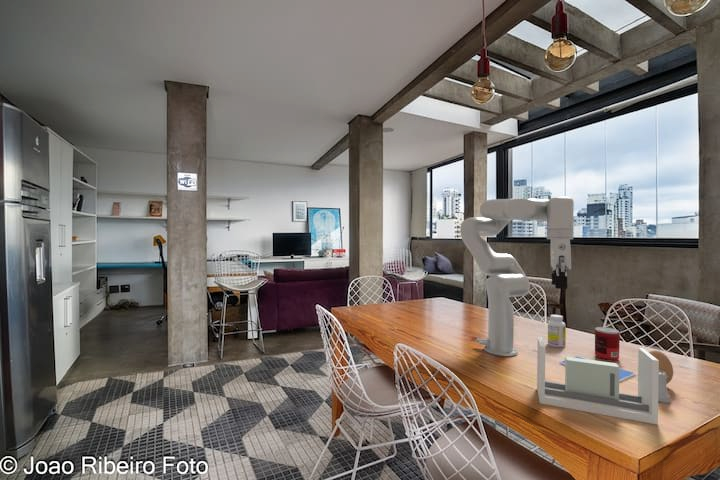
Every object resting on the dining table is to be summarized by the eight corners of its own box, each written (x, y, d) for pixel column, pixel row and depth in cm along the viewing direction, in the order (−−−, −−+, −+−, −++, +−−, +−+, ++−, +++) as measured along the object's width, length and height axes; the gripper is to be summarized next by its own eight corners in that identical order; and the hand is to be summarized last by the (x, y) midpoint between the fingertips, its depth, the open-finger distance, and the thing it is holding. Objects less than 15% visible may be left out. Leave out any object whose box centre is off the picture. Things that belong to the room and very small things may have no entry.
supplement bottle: (560, 343, 149) (561, 314, 148) (568, 348, 142) (568, 317, 142) (544, 342, 149) (545, 313, 149) (551, 347, 143) (552, 317, 143)
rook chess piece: (645, 396, 99) (646, 369, 99) (659, 395, 99) (660, 368, 99) (660, 403, 94) (661, 375, 94) (675, 403, 95) (675, 375, 95)
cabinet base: (539, 403, 94) (540, 346, 94) (537, 388, 103) (537, 336, 103) (657, 424, 84) (658, 360, 84) (643, 406, 93) (643, 348, 93)
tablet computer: (558, 364, 125) (558, 361, 125) (576, 358, 131) (576, 355, 131) (619, 384, 108) (619, 380, 108) (636, 376, 114) (636, 372, 114)
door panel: (566, 395, 95) (567, 360, 95) (565, 390, 97) (565, 356, 97) (618, 404, 90) (619, 367, 90) (615, 399, 93) (616, 363, 93)
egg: (642, 377, 112) (642, 345, 112) (673, 385, 107) (673, 350, 107) (640, 385, 107) (640, 350, 106) (672, 392, 101) (673, 356, 101)
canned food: (620, 357, 131) (620, 329, 131) (617, 363, 125) (618, 333, 125) (596, 352, 136) (596, 325, 136) (593, 357, 131) (593, 329, 130)
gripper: (578, 234, 102) (577, 291, 102) (568, 235, 118) (568, 284, 118) (549, 234, 105) (549, 289, 105) (544, 235, 121) (543, 282, 121)
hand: (559, 286), depth 111 cm, fingers open, 9 cm apart
